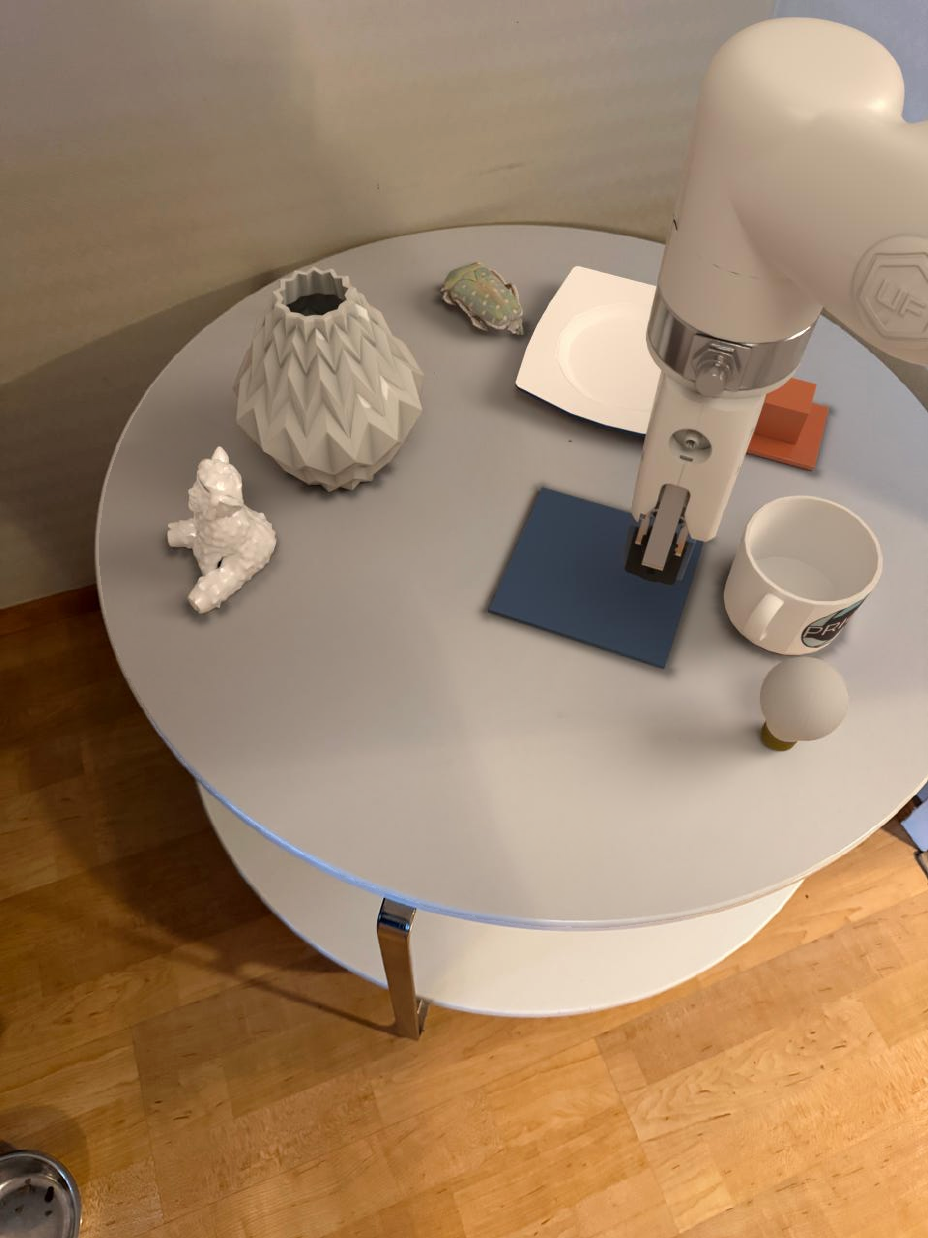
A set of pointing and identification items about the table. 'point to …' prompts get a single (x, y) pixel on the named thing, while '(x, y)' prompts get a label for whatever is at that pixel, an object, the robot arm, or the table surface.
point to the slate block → (637, 524)
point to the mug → (800, 574)
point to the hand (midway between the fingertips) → (659, 544)
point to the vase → (327, 383)
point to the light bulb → (801, 702)
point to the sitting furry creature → (222, 533)
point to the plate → (594, 352)
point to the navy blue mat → (589, 581)
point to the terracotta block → (786, 411)
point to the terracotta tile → (798, 453)
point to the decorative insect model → (484, 297)
